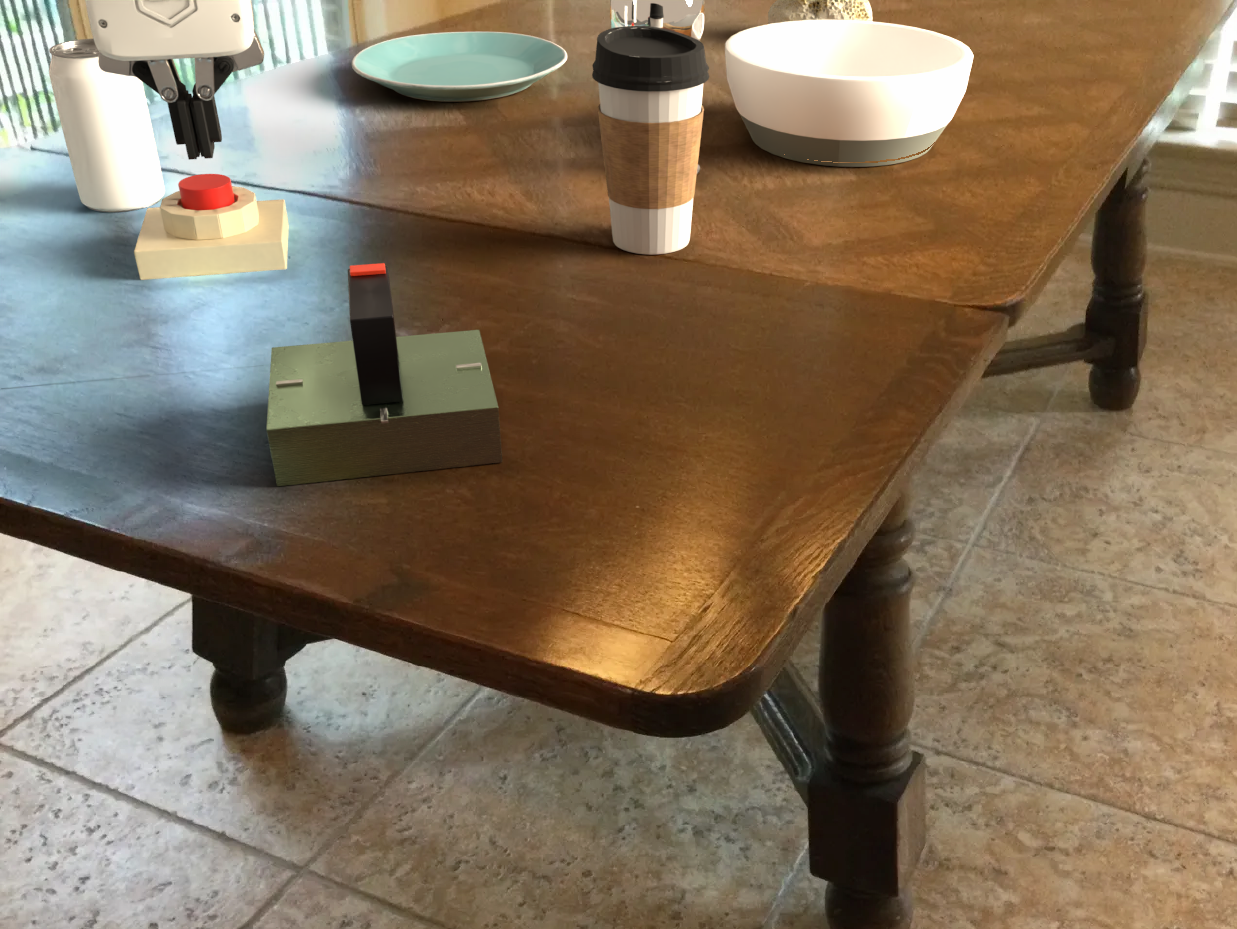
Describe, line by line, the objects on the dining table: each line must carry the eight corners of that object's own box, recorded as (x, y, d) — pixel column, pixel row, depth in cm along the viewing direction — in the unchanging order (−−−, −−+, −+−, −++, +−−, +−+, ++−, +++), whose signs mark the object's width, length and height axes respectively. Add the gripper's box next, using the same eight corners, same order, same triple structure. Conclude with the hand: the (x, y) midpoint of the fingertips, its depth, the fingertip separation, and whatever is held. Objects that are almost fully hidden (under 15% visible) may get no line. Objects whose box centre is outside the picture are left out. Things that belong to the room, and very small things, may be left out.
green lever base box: (276, 492, 69) (265, 432, 67) (281, 396, 78) (271, 340, 76) (503, 468, 71) (499, 409, 69) (482, 377, 81) (478, 322, 79)
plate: (397, 124, 124) (393, 94, 123) (326, 70, 140) (323, 42, 139) (605, 95, 134) (604, 67, 132) (516, 48, 150) (515, 22, 148)
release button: (180, 215, 93) (175, 191, 92) (185, 198, 96) (180, 175, 95) (233, 212, 94) (229, 188, 93) (236, 195, 97) (231, 172, 96)
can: (149, 215, 103) (115, 58, 96) (67, 213, 103) (27, 56, 96) (178, 188, 108) (147, 37, 102) (100, 186, 108) (64, 36, 102)
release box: (140, 280, 92) (127, 226, 90) (153, 235, 99) (141, 184, 97) (287, 270, 94) (278, 216, 92) (289, 226, 101) (280, 175, 99)
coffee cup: (653, 213, 105) (653, 18, 97) (728, 242, 100) (735, 39, 92) (573, 239, 100) (566, 35, 92) (648, 270, 95) (647, 58, 87)
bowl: (876, 95, 135) (884, 11, 131) (1011, 158, 119) (1026, 63, 114) (681, 120, 127) (682, 30, 122) (798, 191, 110) (804, 90, 106)
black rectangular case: (403, 401, 70) (392, 311, 67) (361, 406, 70) (349, 315, 67) (397, 346, 76) (387, 261, 73) (358, 349, 75) (346, 264, 73)
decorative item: (867, -7, 158) (883, -29, 148) (856, 68, 160) (871, 51, 150) (769, -22, 157) (779, -45, 148) (759, 53, 159) (768, 36, 149)
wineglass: (703, 158, 117) (708, -85, 106) (701, 187, 111) (705, -69, 100) (616, 156, 117) (612, -87, 106) (609, 184, 111) (603, -71, 100)
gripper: (5, -122, 78) (82, 177, 88) (264, -128, 81) (310, 162, 91) (27, -139, 84) (97, 144, 94) (267, -143, 87) (310, 131, 97)
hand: (201, 152), depth 93 cm, fingers closed
